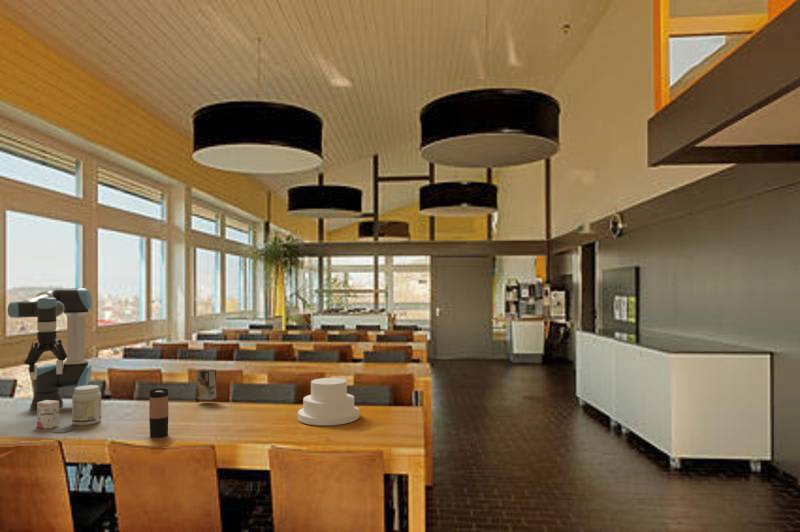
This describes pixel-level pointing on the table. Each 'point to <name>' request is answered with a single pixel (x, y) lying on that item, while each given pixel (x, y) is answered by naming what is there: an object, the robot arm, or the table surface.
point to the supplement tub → (86, 405)
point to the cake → (328, 403)
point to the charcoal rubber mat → (64, 430)
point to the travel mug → (158, 413)
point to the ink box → (48, 414)
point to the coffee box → (206, 384)
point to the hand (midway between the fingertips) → (46, 376)
